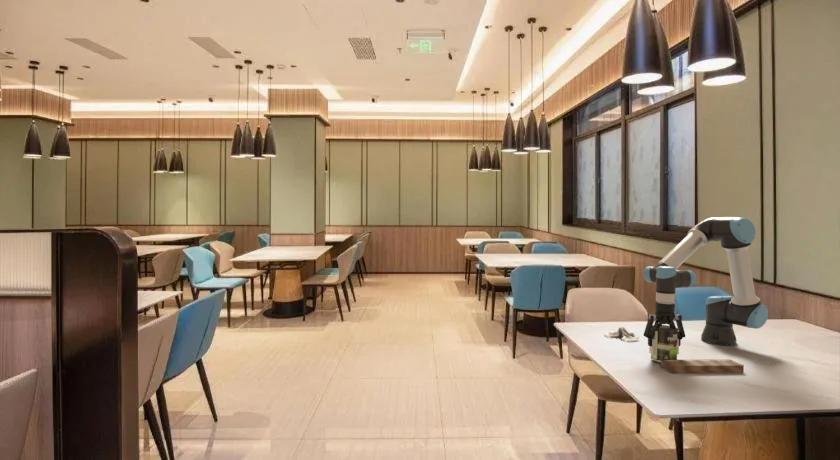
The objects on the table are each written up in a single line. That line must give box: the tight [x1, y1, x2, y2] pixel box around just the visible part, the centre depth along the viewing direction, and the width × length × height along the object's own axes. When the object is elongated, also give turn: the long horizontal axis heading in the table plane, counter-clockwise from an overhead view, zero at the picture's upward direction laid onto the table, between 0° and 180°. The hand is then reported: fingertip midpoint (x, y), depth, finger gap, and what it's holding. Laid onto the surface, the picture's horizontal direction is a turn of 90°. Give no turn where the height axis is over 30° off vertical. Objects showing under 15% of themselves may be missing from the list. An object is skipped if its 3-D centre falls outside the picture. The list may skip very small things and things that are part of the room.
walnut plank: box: [660, 358, 745, 374], centre depth 198 cm, size 30×8×3 cm, turn 93°
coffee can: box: [650, 324, 679, 363], centre depth 208 cm, size 10×10×14 cm
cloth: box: [603, 325, 640, 343], centre depth 251 cm, size 22×19×6 cm
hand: (663, 353), depth 208 cm, fingers closed on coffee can, 10 cm apart
